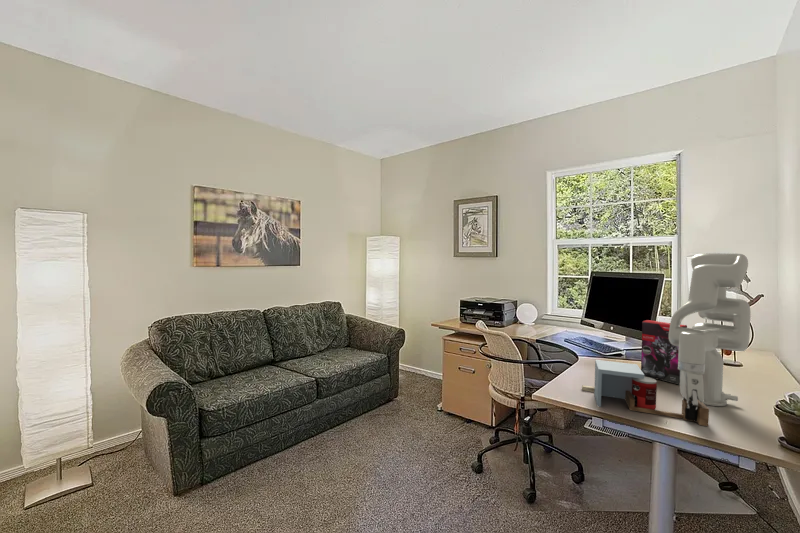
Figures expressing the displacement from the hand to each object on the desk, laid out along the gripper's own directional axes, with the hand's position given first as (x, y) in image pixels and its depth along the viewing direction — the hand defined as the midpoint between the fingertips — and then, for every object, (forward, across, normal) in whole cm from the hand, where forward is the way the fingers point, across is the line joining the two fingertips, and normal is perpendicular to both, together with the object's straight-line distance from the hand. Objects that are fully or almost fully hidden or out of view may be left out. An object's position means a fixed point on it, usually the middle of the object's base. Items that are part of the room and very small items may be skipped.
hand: (689, 417), depth 133 cm
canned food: (+1, +6, +13) cm, 14 cm away
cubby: (+1, +5, +22) cm, 22 cm away
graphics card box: (+1, +51, -2) cm, 51 cm away
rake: (+1, +3, +7) cm, 8 cm away
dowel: (+1, +16, +28) cm, 32 cm away
